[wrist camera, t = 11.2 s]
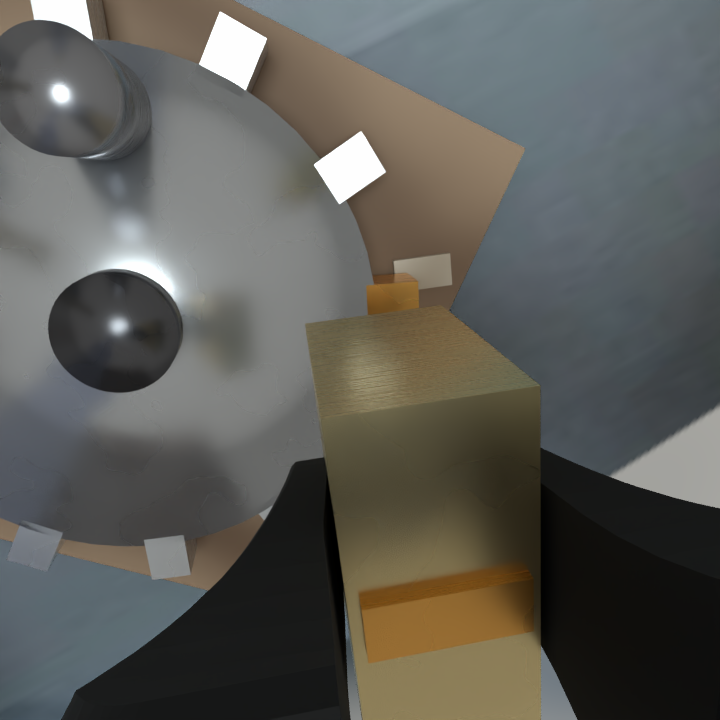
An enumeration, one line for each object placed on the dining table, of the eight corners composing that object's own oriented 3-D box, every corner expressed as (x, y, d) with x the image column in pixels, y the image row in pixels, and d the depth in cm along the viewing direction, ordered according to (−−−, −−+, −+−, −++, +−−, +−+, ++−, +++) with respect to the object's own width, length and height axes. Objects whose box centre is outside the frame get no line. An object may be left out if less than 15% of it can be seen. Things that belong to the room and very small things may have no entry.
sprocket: (477, 426, 20) (531, 496, 15) (44, 622, 20) (-21, 745, 15) (263, -117, 14) (255, -244, 10) (-336, 159, 14) (-600, 152, 10)
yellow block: (457, 568, 15) (546, 766, 10) (342, 589, 14) (374, 803, 9) (441, 304, 12) (547, 390, 7) (304, 323, 12) (321, 426, 7)
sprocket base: (304, 596, 22) (306, 618, 21) (-223, 461, 18) (-256, 480, 17) (512, 149, 18) (528, 147, 17) (-112, -165, 14) (-147, -195, 13)
